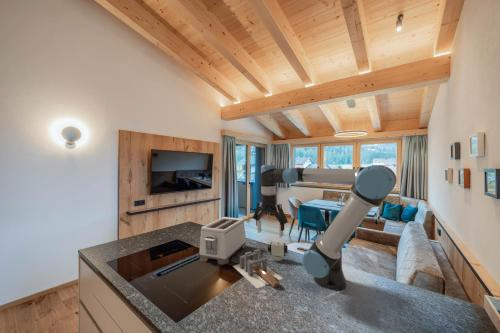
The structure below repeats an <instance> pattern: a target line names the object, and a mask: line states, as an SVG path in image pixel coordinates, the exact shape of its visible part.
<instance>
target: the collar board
mask: <svg viewBox="0 0 500 333" xmlns="http://www.w3.org/2000/svg"><path fill="white" fill-rule="evenodd" d="M251 257H252V260H251V259H249V258H251ZM267 262H268V261H267V257H262V250H261V249H260V248H259V249H254V250H253V252H252V251H247V252H245V254H242V255H239V264H235V265H232V267H233V268H234V269H235V270H237V272H238V273H239V274H241V275H242V276H243V277H244V278H245V279H246V280H247V281H248V282H249V283H250V284H251V285H253V287H255V288H256V289H259V288H263V287H265V286H267V285H270V284H269V283H268V282H267V281H266V280H264V279H263V278H262V277H261V276H259V275H258V274H257V273H256V272H254V271H253V265H254V264H258V265H259V266H261V267H262V268H264V269H265V270H266V271H268V272H269V273H270V274H272V275H273V276H274V277H276V278H277V279H278V280H279V281H280V280H283V279H284V277H282V276H281V275H279V274H278V273H276V271H273V270H272V269H271V268H269V267H268V263H267Z"/></svg>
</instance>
